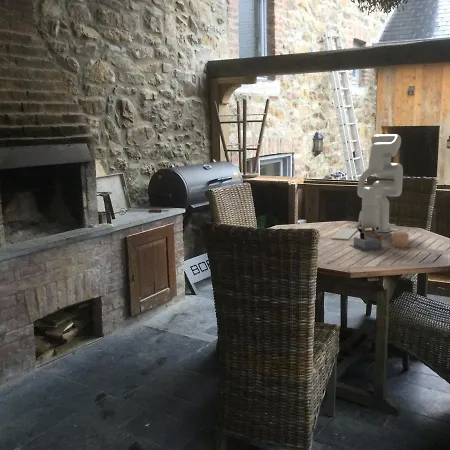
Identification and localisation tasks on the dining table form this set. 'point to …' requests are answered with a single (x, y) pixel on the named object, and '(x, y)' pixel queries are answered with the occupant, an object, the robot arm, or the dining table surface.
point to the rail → (372, 234)
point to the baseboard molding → (344, 234)
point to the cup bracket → (366, 244)
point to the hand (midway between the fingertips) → (367, 238)
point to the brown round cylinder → (400, 239)
